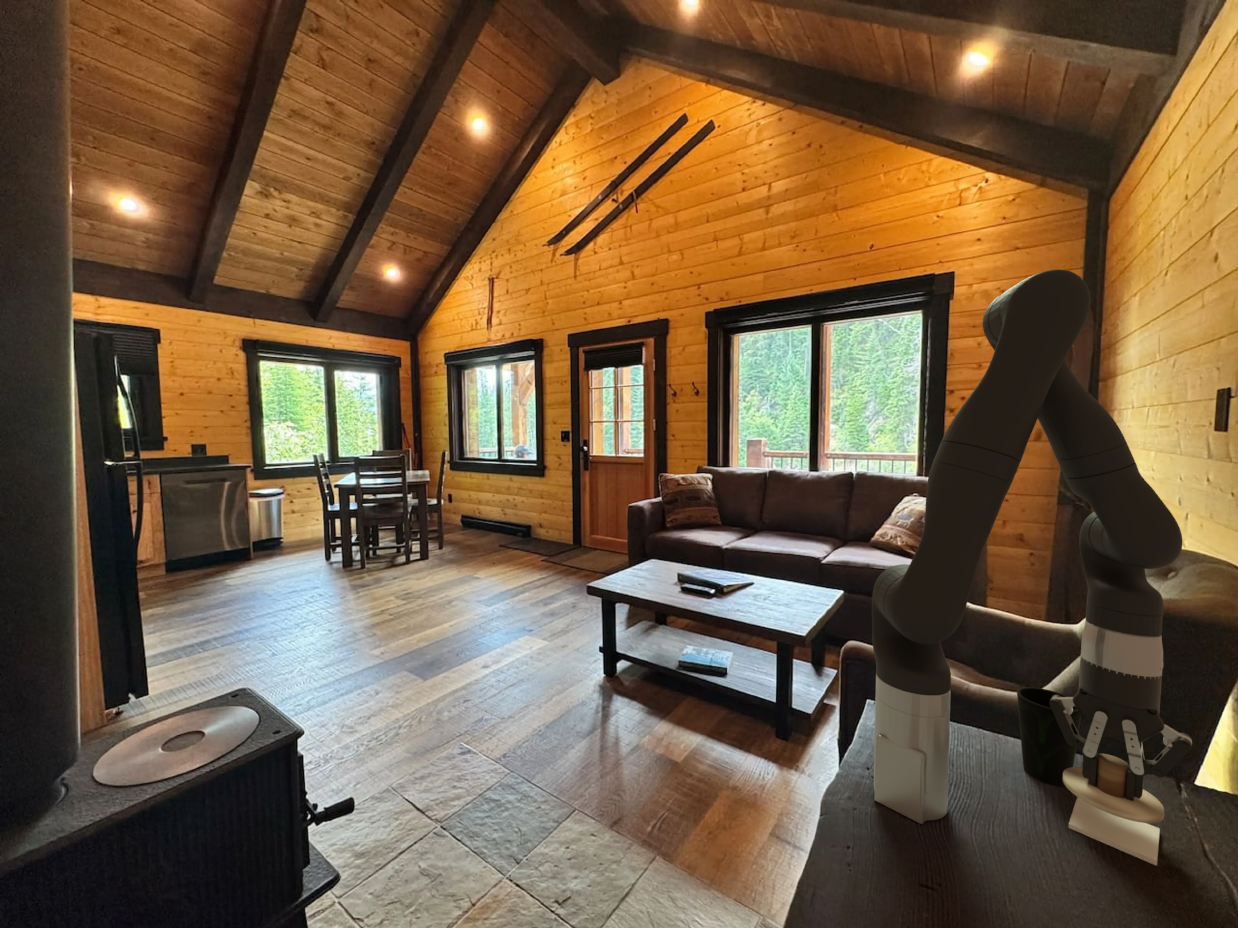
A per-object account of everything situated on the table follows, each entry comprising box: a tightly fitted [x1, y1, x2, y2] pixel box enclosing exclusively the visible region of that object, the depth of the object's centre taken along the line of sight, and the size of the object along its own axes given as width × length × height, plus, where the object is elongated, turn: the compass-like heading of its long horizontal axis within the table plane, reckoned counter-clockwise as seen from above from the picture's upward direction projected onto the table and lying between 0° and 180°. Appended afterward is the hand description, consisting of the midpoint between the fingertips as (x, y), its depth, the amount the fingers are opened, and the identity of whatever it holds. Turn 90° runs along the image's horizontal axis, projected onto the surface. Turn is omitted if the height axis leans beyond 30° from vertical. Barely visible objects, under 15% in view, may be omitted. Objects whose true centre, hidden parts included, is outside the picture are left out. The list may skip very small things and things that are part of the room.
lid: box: [1063, 753, 1165, 824], centre depth 66 cm, size 10×10×5 cm
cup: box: [1016, 686, 1083, 788], centre depth 77 cm, size 8×8×12 cm
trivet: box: [1068, 796, 1161, 867], centre depth 66 cm, size 8×8×1 cm
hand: (1111, 789), depth 66 cm, fingers closed on lid, 3 cm apart
